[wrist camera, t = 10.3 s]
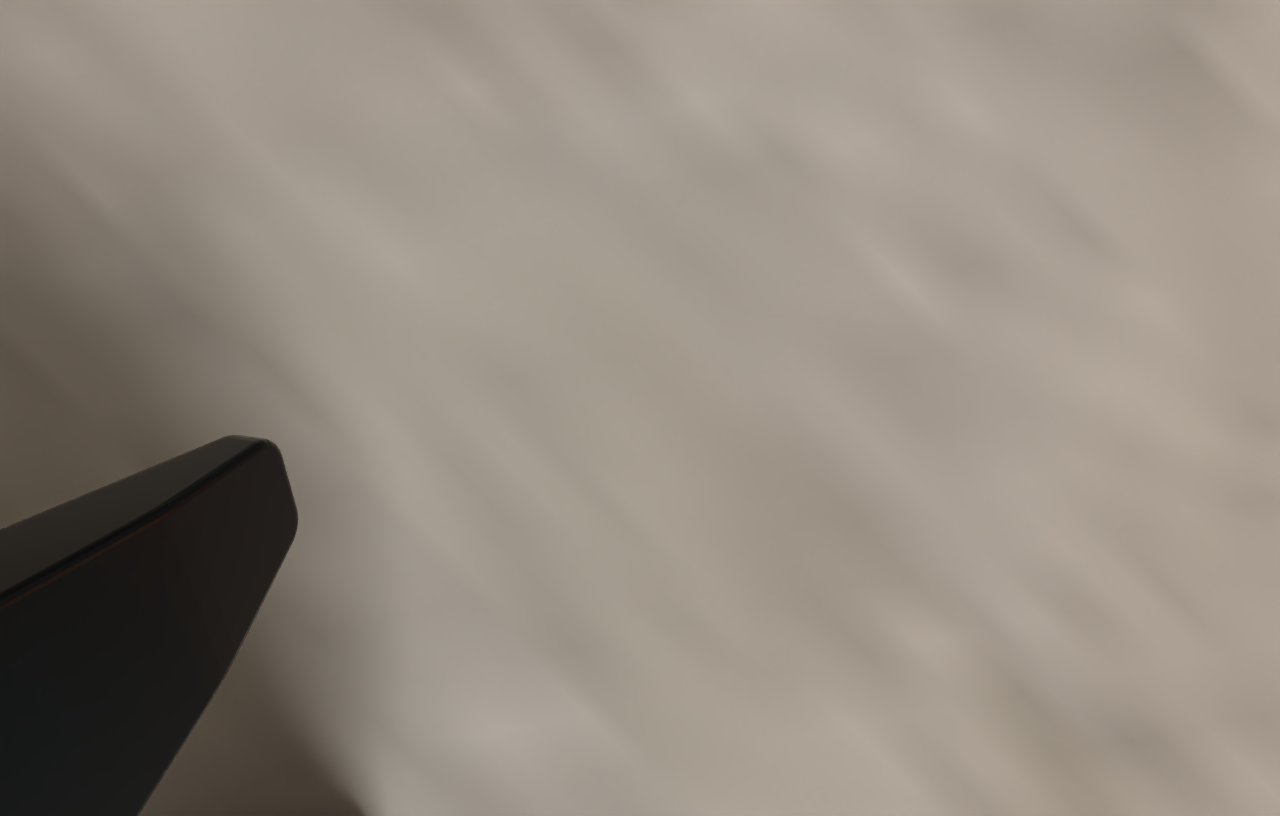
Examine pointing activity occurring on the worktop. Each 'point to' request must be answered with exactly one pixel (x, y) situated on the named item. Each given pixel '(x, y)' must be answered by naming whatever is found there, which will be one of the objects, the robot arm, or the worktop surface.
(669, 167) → the worktop surface
